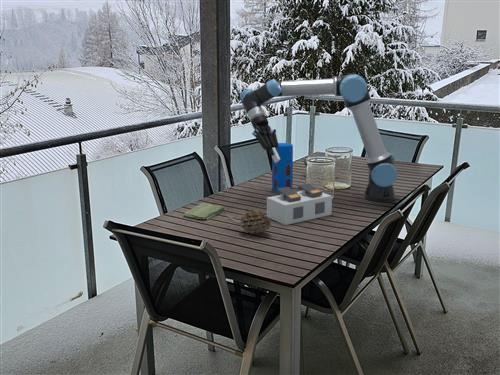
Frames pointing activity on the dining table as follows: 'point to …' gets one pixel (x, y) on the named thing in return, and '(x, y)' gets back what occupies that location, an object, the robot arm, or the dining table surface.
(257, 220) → the pine cone
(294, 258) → the dining table surface
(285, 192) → the outer rocker
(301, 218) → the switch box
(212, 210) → the washcloth
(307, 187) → the inner rocker
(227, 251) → the dining table surface
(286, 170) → the thermos
